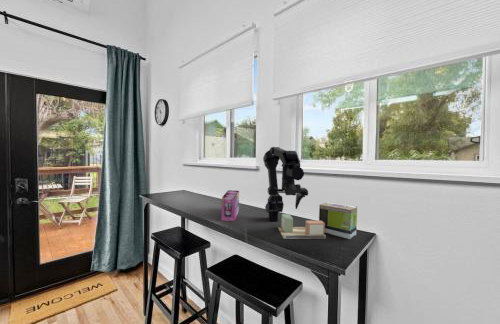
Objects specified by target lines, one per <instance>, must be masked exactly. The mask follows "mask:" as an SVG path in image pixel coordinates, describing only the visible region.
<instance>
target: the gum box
mask: <svg viewBox="0 0 500 324" xmlns="http://www.w3.org/2000/svg"><path fill="white" fill-rule="evenodd" d="M239 212H240V190H227V191H226V192H225V193H224V194H223V196H222V198H221V216H220V221H226V222H235V220H236V218H237V217H238V213H239Z"/></svg>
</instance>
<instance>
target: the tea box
mask: <svg viewBox="0 0 500 324" xmlns="http://www.w3.org/2000/svg"><path fill="white" fill-rule="evenodd" d="M318 206H319V210H318V212H319V213H318V215H319V216H318V221H322V222H324V223H325V228H324V234H329V235H332V236H336V237H340V238H344V239H348V240H351V239H352V238H353V237H355V236H357V221H358V218H357V217H358V206H356V205H350V204H349V205H348V204H345V203H344V204H343V203H336V202H332V201H326V202H322V203H321V204H319V205H318Z"/></svg>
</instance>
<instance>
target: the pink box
mask: <svg viewBox="0 0 500 324" xmlns="http://www.w3.org/2000/svg"><path fill="white" fill-rule="evenodd" d="M304 227H305V235H325V232H324V228H325V223H324V222H322V221H319V220H305V226H304Z"/></svg>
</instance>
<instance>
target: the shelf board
mask: <svg viewBox="0 0 500 324" xmlns="http://www.w3.org/2000/svg"><path fill="white" fill-rule="evenodd" d="M277 230H278V231H279V232H280V235H281V237H282V238H283V240H284V239H286V240H288V239H290V240H291V239H292V240H293V239H294V240H297V239H298V240H299V239H302V240H304V239H306V240H308V239H309V240H313V239H315V240H316V239H318V240H319V239H320V240H321V239H322V240H323V239H327V235H326V234H324V235H305V226H293V232H284V230H283V229H282V227H281V226H277Z"/></svg>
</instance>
